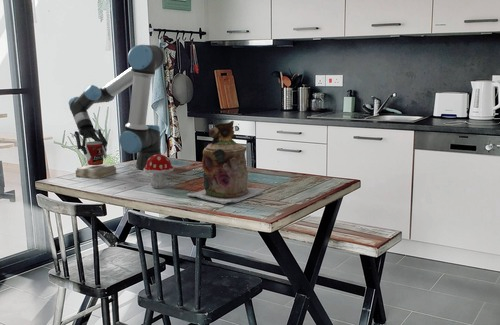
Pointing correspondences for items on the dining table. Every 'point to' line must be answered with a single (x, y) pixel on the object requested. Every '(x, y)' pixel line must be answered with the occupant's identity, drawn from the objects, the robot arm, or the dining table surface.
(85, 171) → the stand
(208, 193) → the cookie jar
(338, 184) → the dining table surface
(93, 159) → the canned food
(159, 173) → the decorative mushroom
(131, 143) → the robot arm
